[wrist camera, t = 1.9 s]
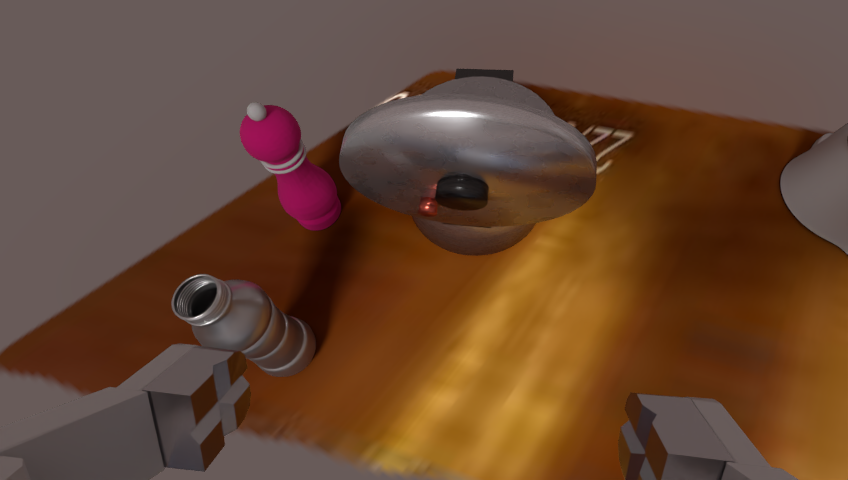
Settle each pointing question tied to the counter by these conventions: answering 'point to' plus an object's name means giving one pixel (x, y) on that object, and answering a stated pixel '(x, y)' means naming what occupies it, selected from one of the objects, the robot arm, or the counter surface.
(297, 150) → the pepper mill
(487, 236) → the cooker pot
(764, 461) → the robot arm
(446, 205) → the cooker lid
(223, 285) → the silver metal bottle
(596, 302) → the counter surface
